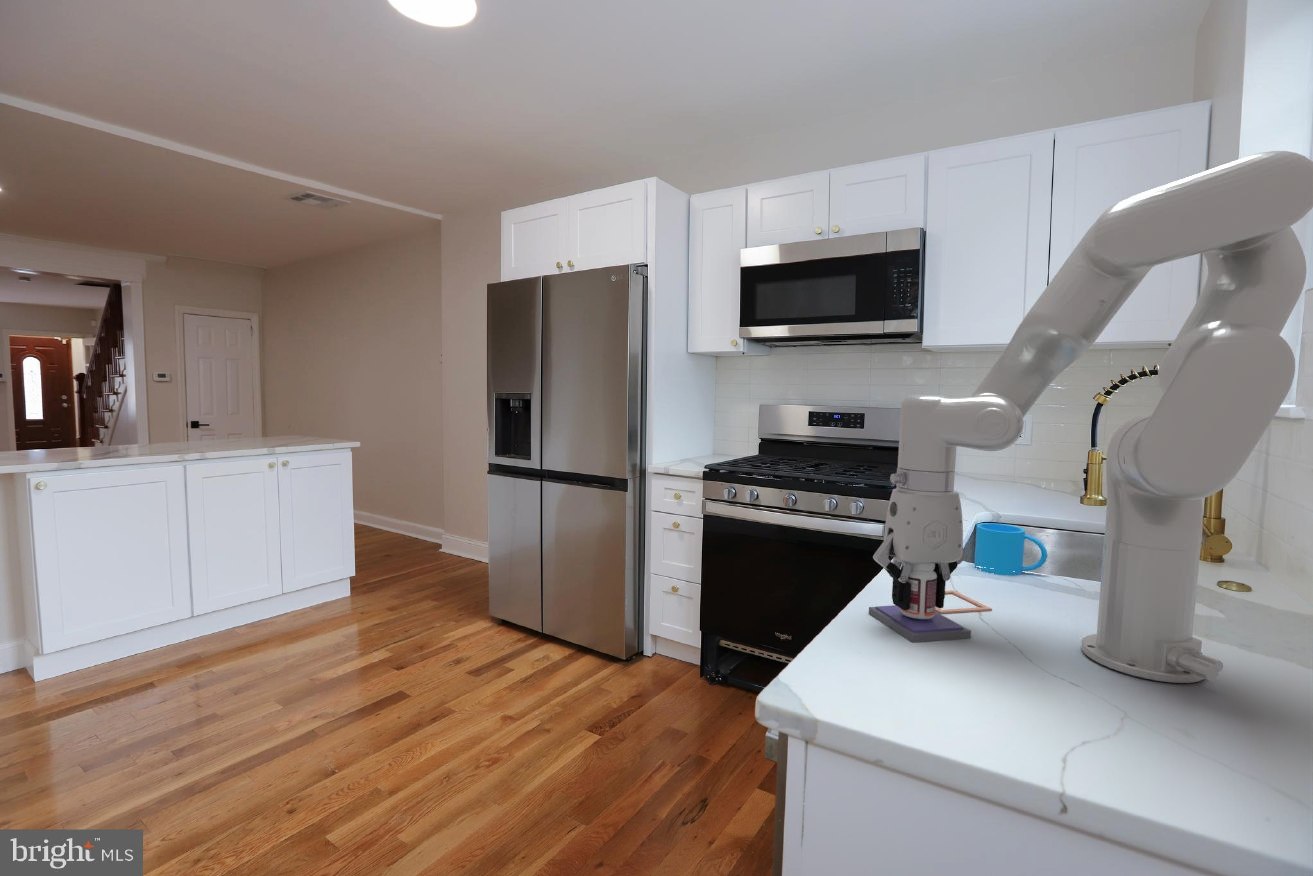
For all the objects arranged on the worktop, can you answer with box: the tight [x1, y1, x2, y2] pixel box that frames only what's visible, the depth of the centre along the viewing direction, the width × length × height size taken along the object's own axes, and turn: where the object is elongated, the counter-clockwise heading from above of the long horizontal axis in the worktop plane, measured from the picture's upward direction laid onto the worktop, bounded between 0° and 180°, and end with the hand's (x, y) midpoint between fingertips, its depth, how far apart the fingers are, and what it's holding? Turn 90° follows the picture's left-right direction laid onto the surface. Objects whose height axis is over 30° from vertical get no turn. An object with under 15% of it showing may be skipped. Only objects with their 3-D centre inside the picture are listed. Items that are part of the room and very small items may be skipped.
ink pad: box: [868, 604, 972, 643], centre depth 91 cm, size 11×9×1 cm
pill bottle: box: [900, 563, 937, 619], centre depth 91 cm, size 5×5×8 cm
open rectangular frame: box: [935, 589, 993, 615], centre depth 102 cm, size 9×9×1 cm
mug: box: [973, 522, 1048, 577], centre depth 120 cm, size 12×8×8 cm
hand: (917, 604), depth 91 cm, fingers closed on pill bottle, 4 cm apart
